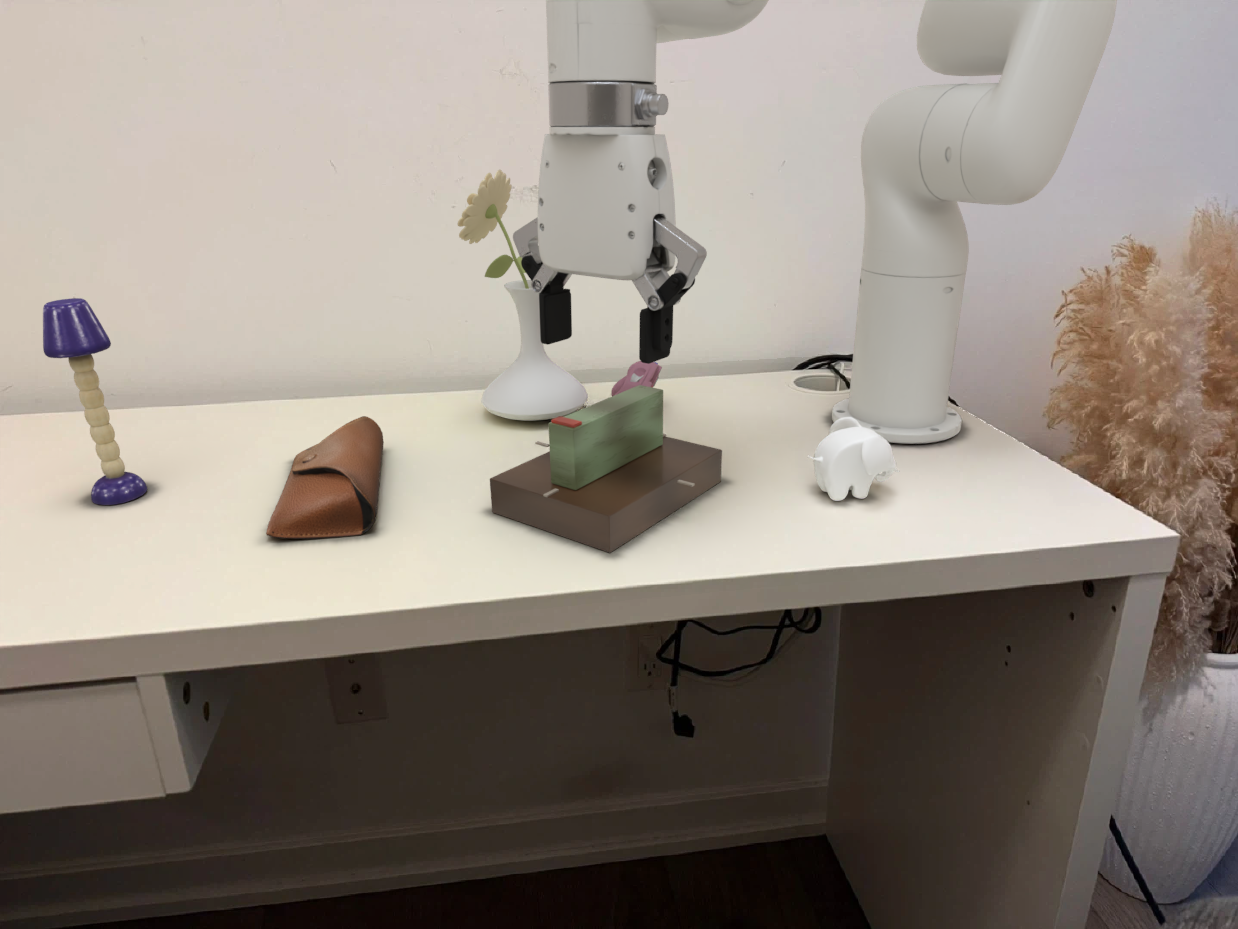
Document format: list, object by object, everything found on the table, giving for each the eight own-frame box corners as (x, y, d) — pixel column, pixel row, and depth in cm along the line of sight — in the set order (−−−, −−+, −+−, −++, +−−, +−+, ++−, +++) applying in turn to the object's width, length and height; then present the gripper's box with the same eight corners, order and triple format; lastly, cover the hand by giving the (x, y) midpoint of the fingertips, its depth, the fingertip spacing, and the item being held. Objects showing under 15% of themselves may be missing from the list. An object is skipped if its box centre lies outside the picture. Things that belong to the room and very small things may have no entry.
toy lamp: (76, 508, 70) (19, 308, 64) (96, 486, 75) (45, 296, 68) (139, 502, 71) (89, 304, 65) (155, 481, 76) (110, 293, 69)
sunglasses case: (290, 453, 80) (319, 392, 78) (362, 482, 82) (391, 423, 81) (262, 540, 64) (298, 464, 62) (352, 572, 66) (388, 500, 65)
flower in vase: (540, 390, 99) (529, 163, 90) (610, 411, 92) (605, 166, 82) (448, 417, 91) (424, 169, 81) (516, 443, 83) (499, 173, 74)
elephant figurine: (913, 505, 69) (922, 436, 67) (821, 515, 67) (827, 444, 65) (873, 473, 75) (881, 409, 73) (788, 482, 74) (793, 416, 71)
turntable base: (594, 447, 82) (593, 416, 81) (743, 486, 73) (744, 452, 72) (472, 506, 70) (469, 471, 69) (632, 561, 61) (632, 522, 60)
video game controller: (628, 444, 87) (659, 387, 84) (589, 423, 87) (618, 365, 84) (645, 413, 96) (673, 360, 93) (609, 394, 96) (636, 341, 93)
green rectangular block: (639, 438, 75) (639, 381, 73) (663, 444, 74) (663, 386, 72) (550, 483, 66) (547, 419, 64) (575, 490, 65) (573, 426, 63)
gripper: (736, 112, 58) (724, 357, 64) (545, 114, 68) (551, 326, 74) (675, 111, 52) (669, 379, 59) (477, 113, 62) (490, 343, 68)
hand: (603, 349), depth 66 cm, fingers open, 9 cm apart
